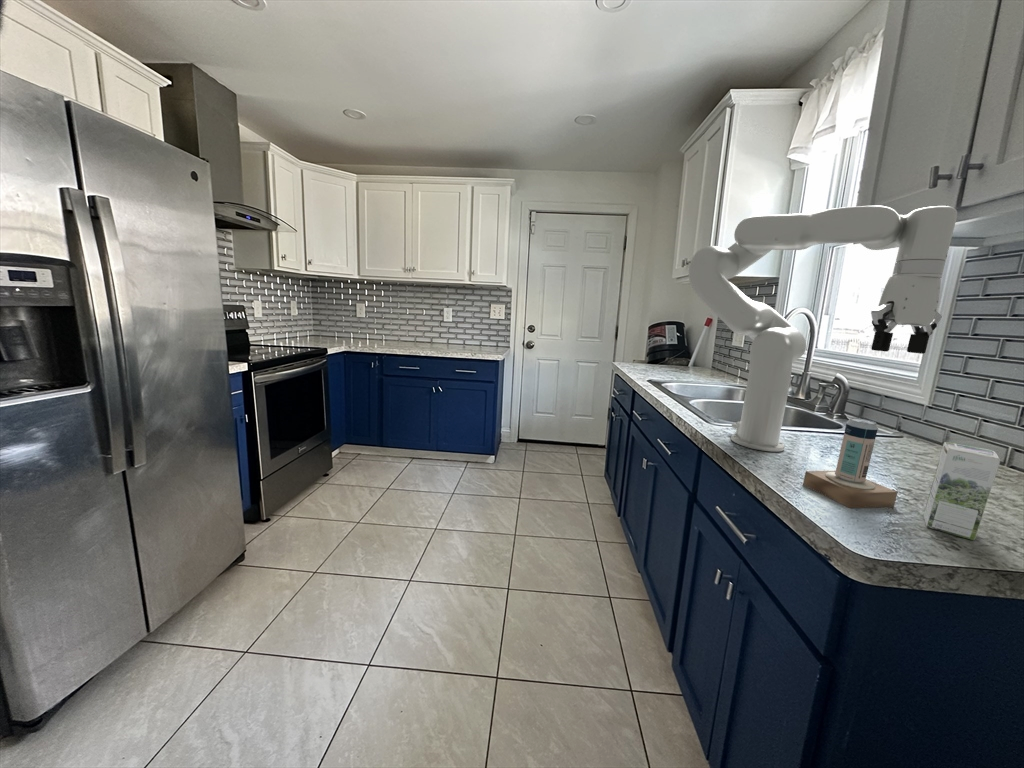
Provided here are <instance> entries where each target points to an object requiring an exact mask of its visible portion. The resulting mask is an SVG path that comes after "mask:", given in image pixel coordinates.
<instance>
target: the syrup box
mask: <svg viewBox="0 0 1024 768" xmlns="http://www.w3.org/2000/svg"><path fill="white" fill-rule="evenodd" d="M1000 464H1001V459H1000V457H999V456H998V454H997V452H995V451H994V450H992V449H987V448H981V447H976V446H972V445H971V446H970V445H964V444H959V443H954V442H948V441H944V442H943V444H942V448H941V452H940V456H939V459H938V463H937V467H936V470H935V472H934V473H935V474H934V476H933V479H932V483H931V487H930V490H929V494H928V498H927V500H926V503H925V504H926V505H925V508H924V512H923V519H924V522H925V526H926V528H929V529H933V530H936V531H940V532H943V533H946V534H949V535H953V536H955V537H956V536H957V537H960V538H964V539H967V540H971V541H975V540H976V537H977V534H978V531H979V528H980V526H981V522H982V519H983V516H984V513H985V508H986V506H987V503H988V499H989V497H990V493H991V491H992V487H993V485H994V482H995V481H994V480H995V478H996V475H997V472H998V470H999V466H1000Z"/></svg>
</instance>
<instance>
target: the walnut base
mask: <svg viewBox="0 0 1024 768" xmlns="http://www.w3.org/2000/svg"><path fill="white" fill-rule="evenodd" d="M835 472H836V470H805V473H804V477H803V482H802V486H805V487H807V488H809V489H810V490H813V491H814V492H817V493H819V494H821V495H823V496H825V497H827V498H828V499H831V500H833V501H835V502H837V503H839V504H841V505H843V506H845V507H847V508H849V509H867V508H869V509H870V508H872V509H873V508H894V507H895V505H896V502H897V501H896V500H897V497H898V491H896V490H894V489H891V488H890V487H886V486H884V485H881V484H879V483H877V482H874V481H873V480H869V479H867V478H866V481H865V482H861V483H852V482H848V481H845V480H842V479H840V478H839V477H838V476H836V475H835Z"/></svg>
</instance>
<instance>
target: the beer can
mask: <svg viewBox="0 0 1024 768" xmlns="http://www.w3.org/2000/svg"><path fill="white" fill-rule="evenodd" d="M877 424H878V423H877V422H876V421H873V420H871V419H866V418H860V417H859V418H858V417H850V418H849V420H847V421H846V422H845V429H844V433H843V437H842V442H841V446H840V449H839V454H838V455H839V456H838V460H837V464H836V469H835V471H836V472H835V475H836V476H838V477H839V478H840V479H842V480H845V481H848V482H852V483H861V482H865V481H866V479H867V475H868V472H869V471H868V470H869V467H870V462H871V458H872V454H873V450H874V446H875V442H876V438H877V433H878V430H879V427H878V425H877Z"/></svg>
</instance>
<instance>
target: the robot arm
mask: <svg viewBox="0 0 1024 768" xmlns="http://www.w3.org/2000/svg"><path fill="white" fill-rule="evenodd" d="M957 218H958V210H957V209H956V208H954V207H953V206H949V205H947V206H946V205H937V206H927V207H921V208H917V209H914V210H912V211H911V212H909V213H908V214H904V215H903V214H899V213H898V212H897V211H896V210H895V209H893V208H891V207H889V206H884V205H862V206H860V205H859V206H845V207H836V208H835V207H834V208H829V209H824V210H817V211H816V210H815V211H812V212H805V213H804V212H803V213H792V214H791V213H788V214H787V213H785V214H766V215H763V214H762V215H754V216H748V217H746V218H744V219H742V220H741V221H740V222H739V223H738V224H737V226H736V227H735V230H734V233H733V235H734V241H735V242H734V243H733V244H731V246H729V247H728V248H724V247H720V246H717V245H708V246H704V247H702V248H700V249H699V250H697V251H696V252H695V253H694V254H693V257H692V258H691V260H690V263H689V266H688V279H689V283H690V284H689V285H690V286H691V288H692V290H693V291H694V293H695V294H696V296H697V297H698V298H699V300H701V301H702V302H703V303H704V304H705V305H706V306H707V307H708V308H709V309H710V310H711V311H712V312H713V313H714V314H715V316H717V317H718V318H719V319H720V320H721V321H722V322H723V323H724V324H725V325H726V326H727V327H728V328H729V329H730V331H732V332H733V333H734V334H737V335H739V336H747V337H748V338H750V339H751V340H752V343H751V346H750V352H749V368H748V376H747V382H746V388H745V394H744V400H743V404H742V411H741V416H740V417H741V418H740V420H739V421H736V422H735V423H734V422H733V423H731V428H733V429H735V431H736V432H735V433H732V434H731V436H730V439H731V441H732V442H733V443H735V444H737V445H739V446H742V447H745V448H749V449H753V450H756V451H764V452H772V453H773V452H777V453H778V452H783V451H784V450H785V449H786V445H785V444H784V443H783V442H782V441H780V436H781V431H782V427H783V426H782V425H783V420H784V417H785V411H786V407H787V406H786V405H787V400H788V396H789V390H790V386H791V381H792V380H791V379H792V368H793V363H794V362H795V361H797V360H799V359H800V358H801V357H802V356H803V355H804V354H805V351H806V349H807V341H806V338H805V337H804V335H803V334H802V332H800V331H799V330H798V329H797V328H796V327H795V326H793V325H792V324H791V323H790V321H788V320H787V319H785V318H784V317H783V316H782V315H781V314H780V313H778V312H777V311H776V310H775V309H774V308H773V307H771V306H770V305H768V304H766V303H765V302H760V301H756V300H752V299H751V298H749V297H748V296H747V295H745V293H744V292H742V291H741V290H740V289H739V288H738V287H737V286H736V285H735V284H733V283H732V282H731V281H729V280H730V279H732V278H734V277H736V276H737V275H739V274H741V273H742V272H743V271H745V270H747V269H748V268H749V267H751V266H752V265H753V264H755V263H757V262H758V261H759V260H761V259H762V258H763V257H765V256H766V255H768V254H769V253H770V252H772V251H773V250H774V251H802V250H806V249H809V248H811V247H813V246H817V245H822V244H823V245H824V244H861V246H863V247H864V248H866V249H867V250H868V249H869V250H872V251H880V250H881V251H882V250H888V249H895V248H896V249H897V248H898V250H897V255H896V259H895V263H894V267H893V271H892V275H891V276H889V278H888V280H887V282H886V284H885V286H884V288H883V291H882V293H881V296H880V301H879V303H878V306H877V307H876V308H874V309H872V310H871V311H870V314H871V324H872V326H873V330H872V331H873V332H874V335H873V339H872V345H871V348H870V349H871V350H872V351H877V352H889V351H890V349H891V344H892V340H893V336H894V333H893V332H892V331H893V330H894V329H895V328H896V327H897V326H898V325H902V326H905V325H906V326H911V327H910V328H911V329H912V331H913V333H914V334H913V333H910V337H909V341H908V345H907V348H906V352H907V353H909V354H910V353H911V354H912V353H913V354H921V355H923V354H924V355H925V353H926V351H927V348H928V344H929V340H930V336H932V335H933V332H934V331H935V329H937V327H938V324H939V322H940V321H941V319H942V314H940V312H939V311H937V310H938V305H939V300H940V293H941V283H942V282H941V280H942V277H943V274H944V270H945V266H946V261H947V258H948V253H949V249H950V246H951V242H952V238H953V234H954V231H955V226H956V221H957Z"/></svg>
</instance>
